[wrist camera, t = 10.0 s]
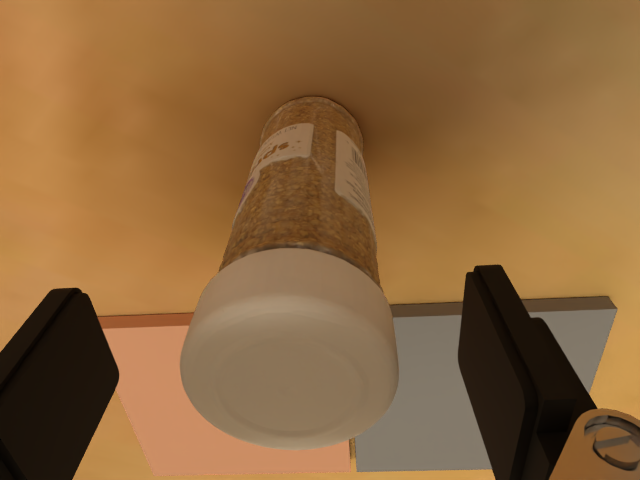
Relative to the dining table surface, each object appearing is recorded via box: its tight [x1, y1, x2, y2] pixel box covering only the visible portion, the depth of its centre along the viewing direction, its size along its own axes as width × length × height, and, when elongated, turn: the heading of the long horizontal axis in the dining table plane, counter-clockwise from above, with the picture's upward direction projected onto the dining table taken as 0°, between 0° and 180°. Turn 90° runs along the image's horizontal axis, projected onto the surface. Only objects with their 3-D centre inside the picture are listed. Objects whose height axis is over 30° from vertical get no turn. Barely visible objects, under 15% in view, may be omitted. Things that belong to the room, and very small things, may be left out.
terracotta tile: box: [98, 313, 351, 476], centre depth 29 cm, size 14×14×1 cm
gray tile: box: [355, 297, 617, 472], centre depth 28 cm, size 14×14×1 cm
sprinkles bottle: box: [180, 97, 399, 450], centre depth 15 cm, size 5×5×14 cm
